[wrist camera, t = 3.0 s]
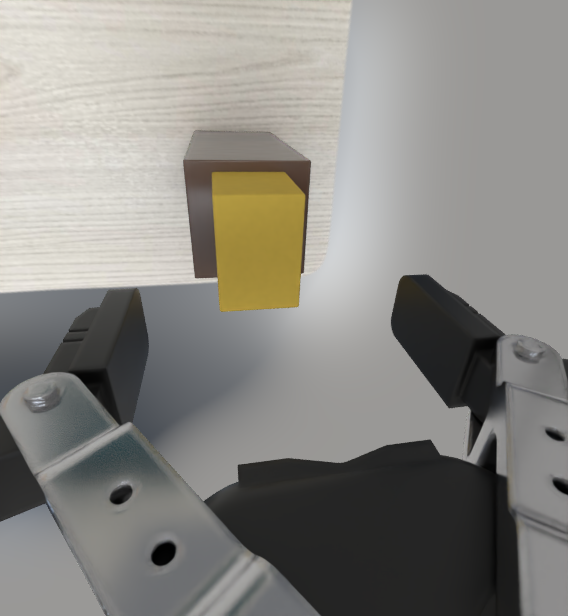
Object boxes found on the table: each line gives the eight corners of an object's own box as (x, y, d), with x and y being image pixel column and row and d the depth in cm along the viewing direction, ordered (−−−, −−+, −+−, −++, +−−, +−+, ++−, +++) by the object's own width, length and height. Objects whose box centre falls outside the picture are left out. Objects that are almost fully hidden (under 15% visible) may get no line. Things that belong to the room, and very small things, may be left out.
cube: (211, 171, 17) (212, 194, 13) (285, 171, 18) (306, 194, 14) (218, 269, 20) (219, 312, 16) (282, 266, 20) (298, 307, 16)
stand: (194, 130, 28) (182, 159, 17) (270, 132, 29) (311, 160, 18) (200, 207, 31) (195, 278, 20) (269, 206, 32) (303, 273, 21)
